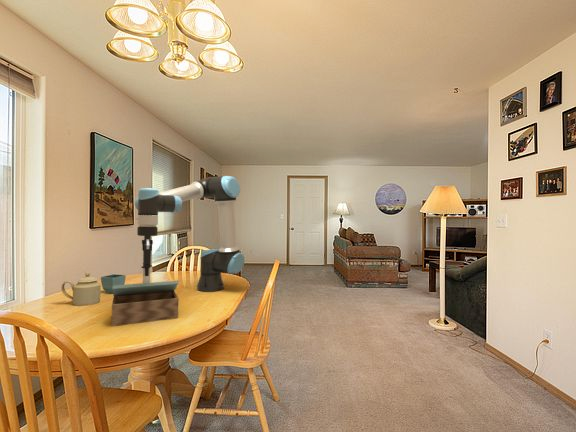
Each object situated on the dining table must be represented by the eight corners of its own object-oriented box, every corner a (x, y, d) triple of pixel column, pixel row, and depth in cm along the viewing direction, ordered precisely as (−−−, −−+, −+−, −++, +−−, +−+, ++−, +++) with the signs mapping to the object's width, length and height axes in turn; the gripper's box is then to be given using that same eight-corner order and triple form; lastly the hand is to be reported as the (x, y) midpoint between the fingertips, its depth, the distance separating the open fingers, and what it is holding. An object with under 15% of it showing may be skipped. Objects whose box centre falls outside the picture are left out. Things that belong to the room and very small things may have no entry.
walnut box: (173, 308, 140) (174, 291, 140) (178, 317, 127) (178, 298, 127) (113, 315, 129) (113, 296, 129) (111, 326, 116) (111, 305, 116)
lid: (174, 291, 140) (174, 288, 140) (178, 283, 129) (178, 280, 129) (113, 296, 129) (113, 293, 129) (112, 288, 118) (112, 285, 118)
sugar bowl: (65, 309, 136) (66, 275, 137) (60, 303, 144) (61, 271, 144) (103, 302, 147) (103, 271, 147) (96, 298, 155) (97, 268, 155)
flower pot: (99, 293, 164) (100, 276, 164) (113, 289, 173) (113, 273, 173) (112, 295, 162) (113, 278, 162) (126, 291, 170) (126, 275, 170)
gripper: (137, 225, 130) (135, 281, 130) (137, 226, 119) (136, 287, 118) (156, 225, 134) (155, 279, 133) (158, 226, 122) (157, 286, 122)
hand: (146, 283), depth 126 cm, fingers closed
